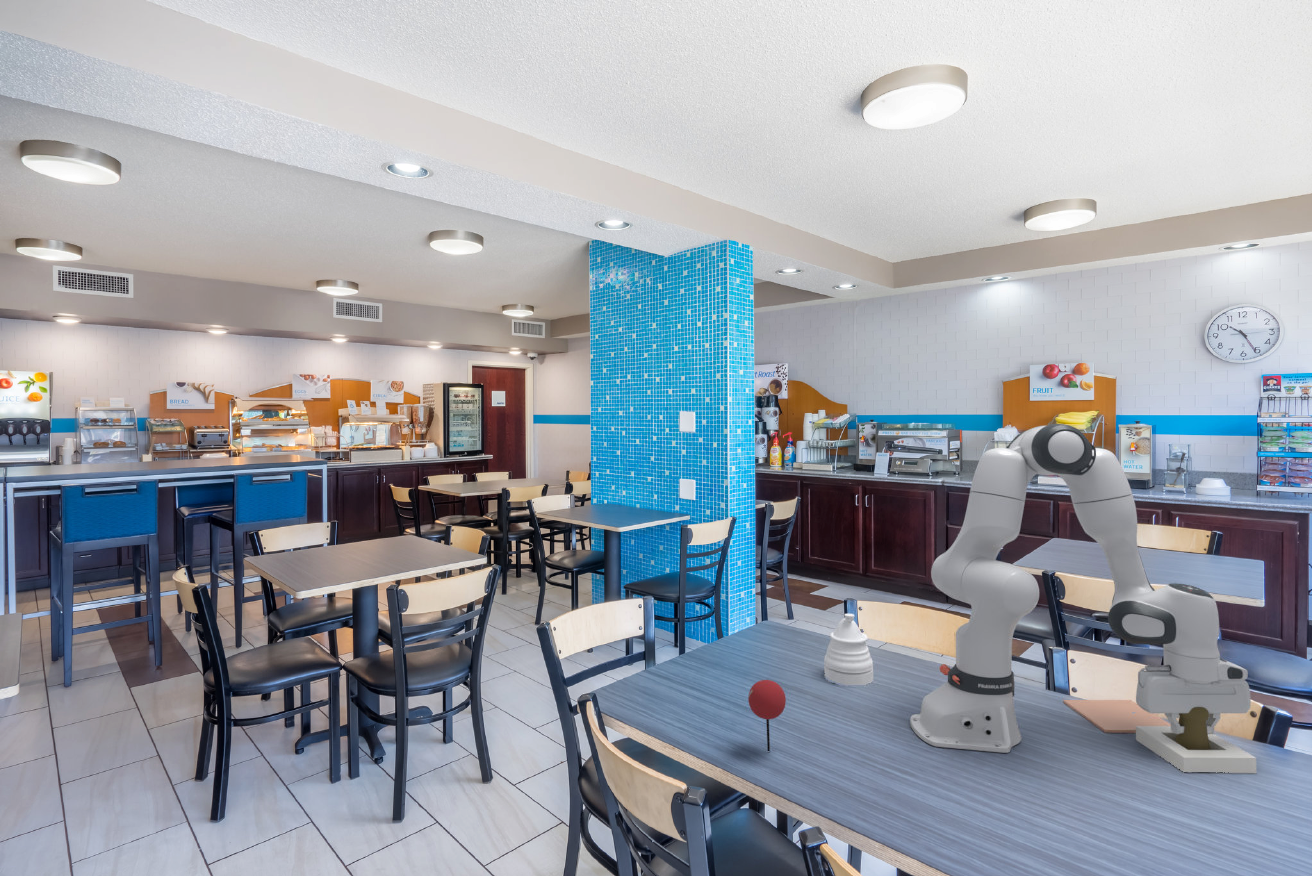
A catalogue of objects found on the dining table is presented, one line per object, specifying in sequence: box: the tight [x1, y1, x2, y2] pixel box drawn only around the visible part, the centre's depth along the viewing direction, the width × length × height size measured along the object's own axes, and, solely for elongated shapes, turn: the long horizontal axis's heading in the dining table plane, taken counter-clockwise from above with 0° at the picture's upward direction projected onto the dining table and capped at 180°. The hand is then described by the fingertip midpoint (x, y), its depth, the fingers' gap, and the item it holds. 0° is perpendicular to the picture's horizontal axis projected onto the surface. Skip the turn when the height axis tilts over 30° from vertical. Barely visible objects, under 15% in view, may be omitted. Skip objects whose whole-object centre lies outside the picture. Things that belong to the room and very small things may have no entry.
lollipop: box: [747, 679, 787, 752], centre depth 136 cm, size 8×8×15 cm
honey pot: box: [823, 613, 874, 685], centre depth 175 cm, size 13×13×18 cm
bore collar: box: [1135, 726, 1257, 774], centre depth 130 cm, size 13×13×3 cm
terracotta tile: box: [1062, 699, 1171, 734], centre depth 148 cm, size 16×16×1 cm
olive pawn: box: [1176, 707, 1210, 750], centre depth 130 cm, size 6×6×11 cm
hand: (1192, 733), depth 130 cm, fingers closed on olive pawn, 4 cm apart
